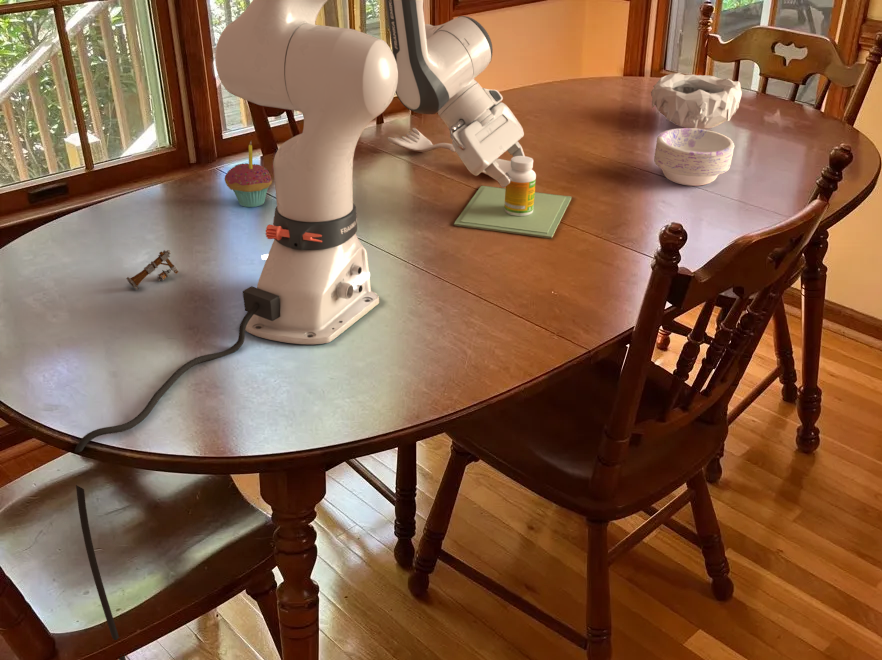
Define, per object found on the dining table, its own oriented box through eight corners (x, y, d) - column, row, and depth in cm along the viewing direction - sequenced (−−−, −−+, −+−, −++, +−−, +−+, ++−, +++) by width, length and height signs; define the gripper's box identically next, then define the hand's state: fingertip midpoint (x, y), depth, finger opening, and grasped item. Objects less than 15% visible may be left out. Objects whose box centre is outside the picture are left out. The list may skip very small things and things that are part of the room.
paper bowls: (696, 197, 179) (704, 157, 174) (636, 175, 188) (641, 136, 183) (742, 180, 187) (750, 141, 182) (681, 160, 196) (688, 122, 191)
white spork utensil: (413, 141, 203) (413, 125, 200) (533, 175, 187) (535, 158, 185) (386, 151, 197) (386, 135, 195) (508, 187, 181) (509, 170, 179)
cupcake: (283, 202, 173) (277, 138, 165) (246, 215, 167) (239, 149, 160) (255, 190, 177) (248, 127, 170) (218, 202, 172) (210, 137, 165)
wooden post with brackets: (184, 269, 147) (170, 248, 143) (146, 301, 145) (130, 281, 141) (179, 266, 148) (164, 245, 144) (140, 297, 146) (124, 276, 142)
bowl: (746, 140, 208) (755, 95, 202) (655, 138, 208) (662, 92, 202) (725, 113, 224) (733, 70, 218) (641, 111, 224) (647, 68, 218)
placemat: (551, 238, 162) (551, 235, 162) (453, 225, 166) (453, 222, 165) (571, 198, 177) (571, 195, 177) (481, 187, 181) (481, 184, 181)
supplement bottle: (531, 218, 168) (535, 165, 162) (502, 215, 168) (505, 162, 163) (534, 207, 172) (539, 155, 166) (506, 204, 173) (509, 153, 167)
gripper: (458, 117, 154) (509, 184, 157) (501, 88, 169) (547, 149, 172) (433, 140, 158) (484, 205, 161) (478, 109, 173) (523, 169, 176)
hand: (517, 175), depth 166 cm, fingers open, 8 cm apart
